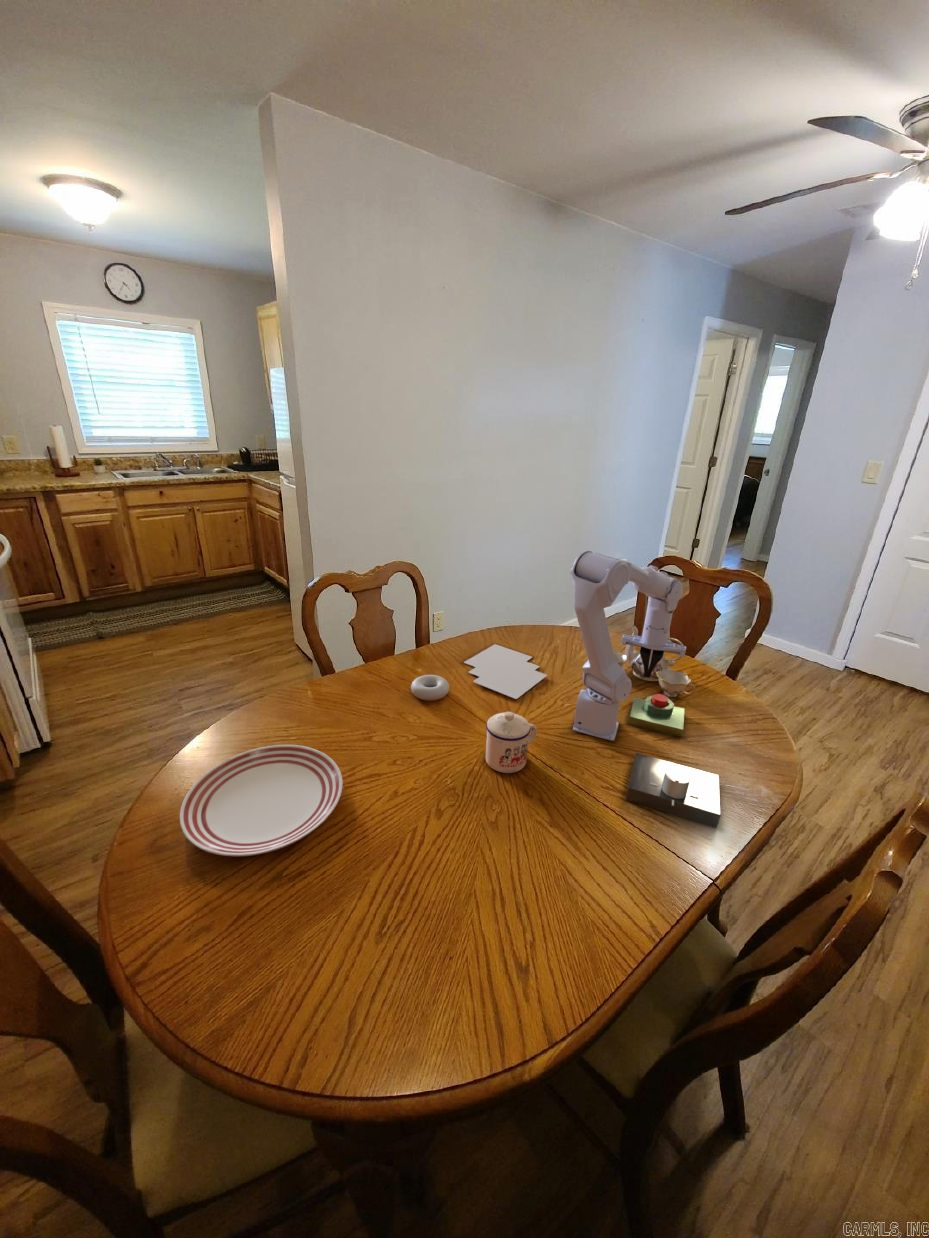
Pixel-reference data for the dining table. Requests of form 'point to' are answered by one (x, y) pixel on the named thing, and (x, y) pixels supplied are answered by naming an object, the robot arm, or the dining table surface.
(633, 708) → the block
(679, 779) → the hob knob
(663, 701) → the button
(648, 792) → the hob panel
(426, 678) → the donut
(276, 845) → the dinner plate
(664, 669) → the chinaware
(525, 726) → the teacup with lid
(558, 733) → the dining table surface
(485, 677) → the paper stack
